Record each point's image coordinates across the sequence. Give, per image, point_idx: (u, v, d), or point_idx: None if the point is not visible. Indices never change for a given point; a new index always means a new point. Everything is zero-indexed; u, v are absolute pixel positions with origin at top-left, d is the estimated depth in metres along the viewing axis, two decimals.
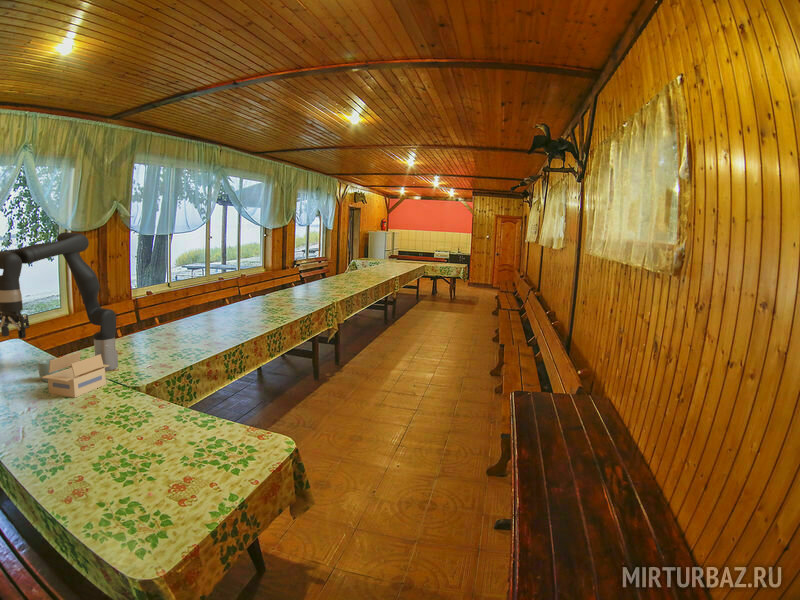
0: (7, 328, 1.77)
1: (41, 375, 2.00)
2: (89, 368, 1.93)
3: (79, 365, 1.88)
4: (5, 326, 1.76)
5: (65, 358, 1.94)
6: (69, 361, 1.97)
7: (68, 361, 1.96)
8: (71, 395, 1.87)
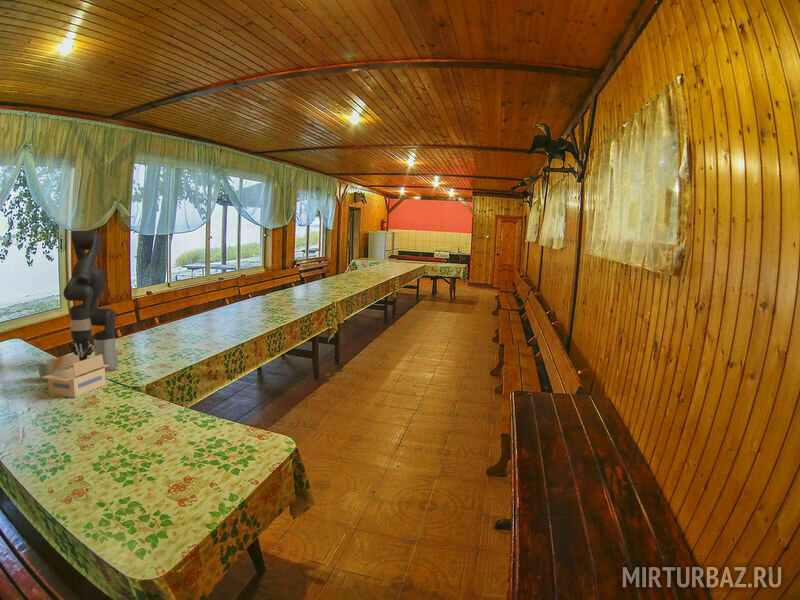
0: None
1: (41, 375, 2.00)
2: (89, 368, 1.93)
3: (81, 365, 1.88)
4: None
5: (65, 358, 1.94)
6: (69, 361, 1.97)
7: (68, 361, 1.96)
8: (71, 395, 1.87)
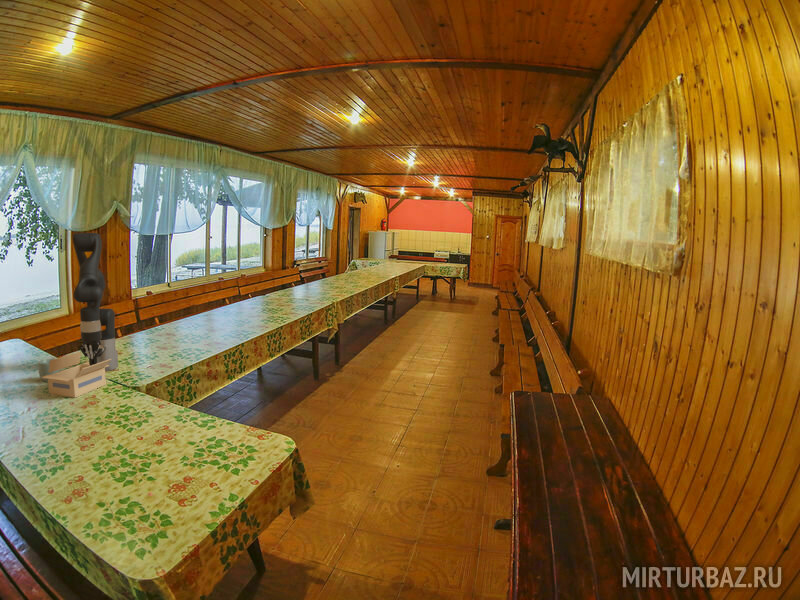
0: None
1: (41, 375, 2.00)
2: (92, 370, 1.93)
3: (87, 369, 1.88)
4: None
5: (65, 358, 1.94)
6: (69, 361, 1.97)
7: (68, 361, 1.96)
8: (71, 395, 1.87)
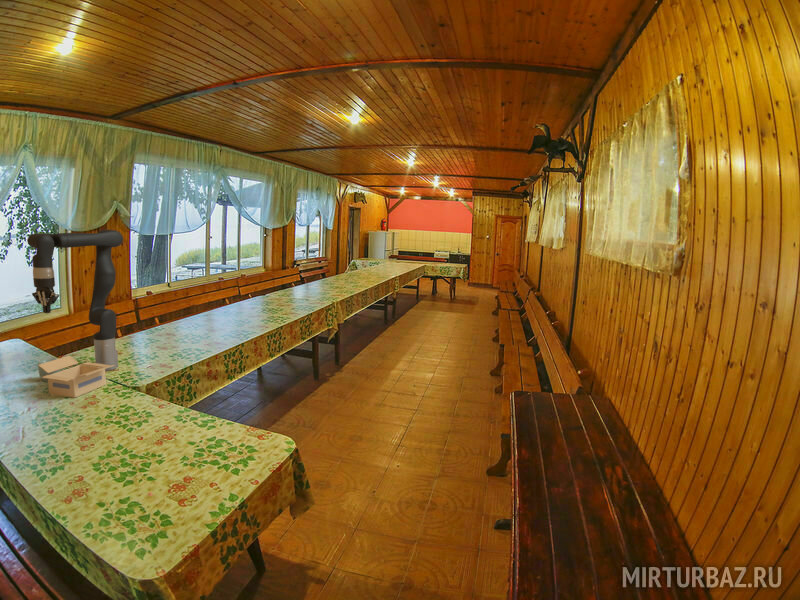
0: None
1: (41, 375, 2.00)
2: (92, 371, 1.93)
3: (90, 373, 1.88)
4: None
5: (55, 361, 1.95)
6: (63, 363, 1.97)
7: (62, 362, 1.97)
8: (71, 395, 1.87)
